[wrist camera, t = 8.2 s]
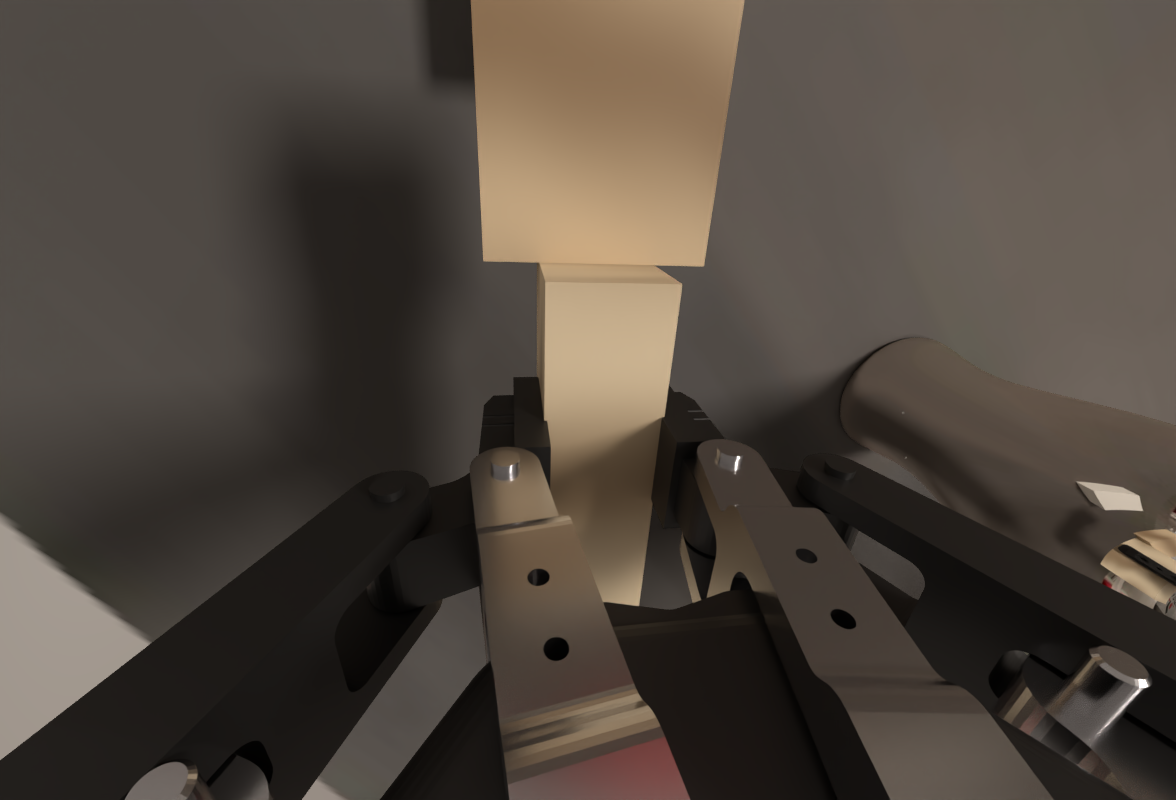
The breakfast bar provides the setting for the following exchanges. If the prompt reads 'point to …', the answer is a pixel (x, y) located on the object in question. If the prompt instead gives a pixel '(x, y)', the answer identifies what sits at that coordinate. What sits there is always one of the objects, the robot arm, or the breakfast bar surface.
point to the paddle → (603, 226)
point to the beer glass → (1027, 463)
